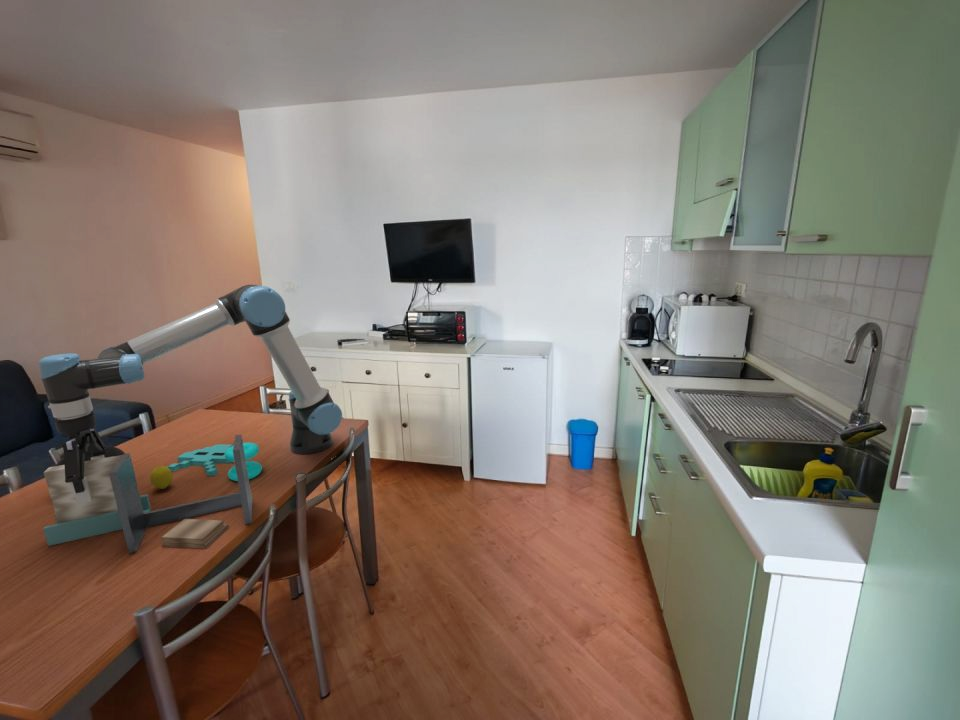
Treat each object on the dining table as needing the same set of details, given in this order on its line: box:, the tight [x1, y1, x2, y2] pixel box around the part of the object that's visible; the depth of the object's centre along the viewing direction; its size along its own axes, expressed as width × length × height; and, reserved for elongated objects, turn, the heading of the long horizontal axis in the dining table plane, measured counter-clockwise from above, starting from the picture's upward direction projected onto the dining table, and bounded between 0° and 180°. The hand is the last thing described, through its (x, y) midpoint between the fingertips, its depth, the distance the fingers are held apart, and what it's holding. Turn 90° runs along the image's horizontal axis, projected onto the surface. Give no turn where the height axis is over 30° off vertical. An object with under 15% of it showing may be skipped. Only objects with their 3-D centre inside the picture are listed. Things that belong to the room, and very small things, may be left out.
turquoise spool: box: [225, 442, 263, 482], centre depth 142 cm, size 10×10×10 cm
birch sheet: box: [43, 455, 122, 524], centre depth 115 cm, size 16×3×18 cm, turn 116°
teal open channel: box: [42, 493, 152, 547], centre depth 117 cm, size 20×8×5 cm, turn 116°
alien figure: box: [165, 443, 234, 477], centre depth 154 cm, size 20×2×20 cm
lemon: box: [149, 465, 173, 490], centre depth 135 cm, size 6×6×8 cm
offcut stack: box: [161, 518, 230, 549], centre depth 112 cm, size 12×8×3 cm
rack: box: [109, 434, 254, 554], centre depth 114 cm, size 27×12×22 cm, turn 116°
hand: (94, 489), depth 115 cm, fingers open, 13 cm apart
